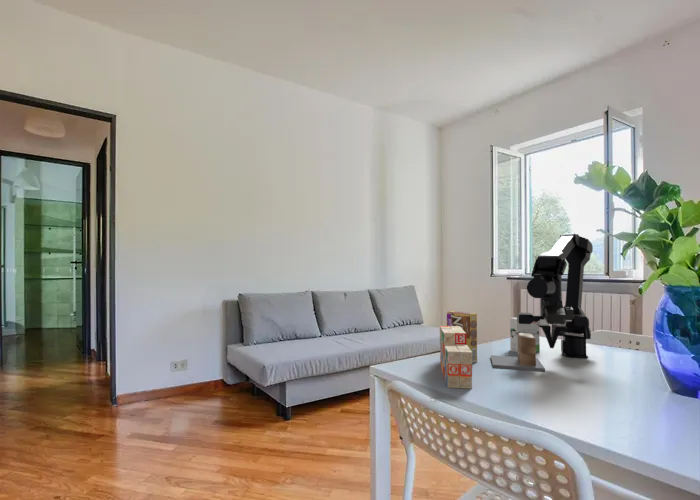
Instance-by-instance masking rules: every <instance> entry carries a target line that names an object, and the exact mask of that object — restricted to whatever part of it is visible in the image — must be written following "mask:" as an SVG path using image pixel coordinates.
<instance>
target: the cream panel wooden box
mask: <svg viewBox="0 0 700 500" xmlns="http://www.w3.org/2000/svg"><path fill="white" fill-rule="evenodd" d="M536 356H537V352H536V339H535V337H534V336H533V335H532V334H525V333H518V353H517V357H518V360H519V361H520V363H521V365H533V366H536V358H537V357H536Z"/></svg>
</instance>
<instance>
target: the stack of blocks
mask: <svg viewBox="0 0 700 500" xmlns="http://www.w3.org/2000/svg"><path fill="white" fill-rule="evenodd" d="M439 346H440V348H439V349H440V353H439V354H440V355H439V361H440V362H439V363H440V364H439V365H440V370H441V373H442V375H443V378H444V381H445V384H446V387H447V388H449V389H450V388H451V389H452V388H453V389H469V390H471V389H473V377H472V376H473V363H472V351H471V350H470V348H469V347H468V346H467V341H466V333H465V331H464V330H463V329H462V328H461V327H460V326H447V325H439Z"/></svg>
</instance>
